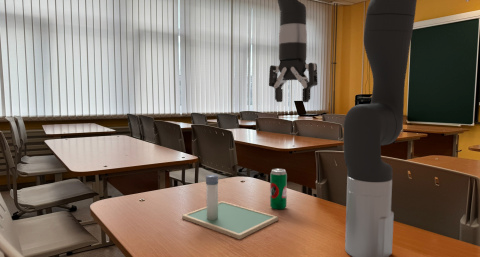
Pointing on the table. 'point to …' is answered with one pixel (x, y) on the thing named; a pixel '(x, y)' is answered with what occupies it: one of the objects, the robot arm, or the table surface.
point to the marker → (212, 196)
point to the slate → (232, 219)
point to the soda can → (278, 189)
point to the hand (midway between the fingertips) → (292, 102)
